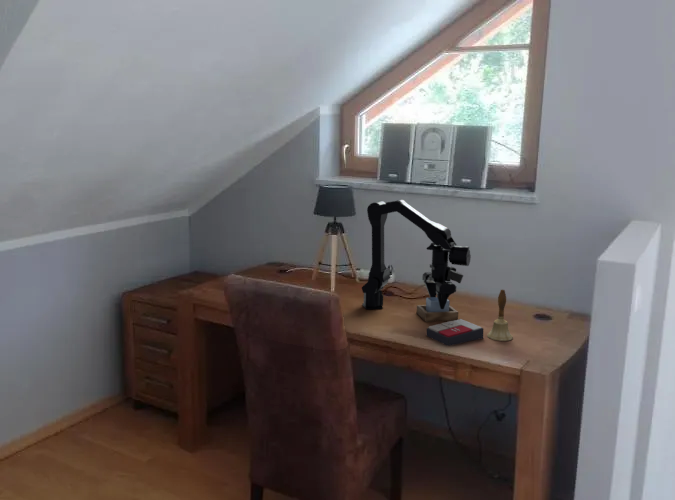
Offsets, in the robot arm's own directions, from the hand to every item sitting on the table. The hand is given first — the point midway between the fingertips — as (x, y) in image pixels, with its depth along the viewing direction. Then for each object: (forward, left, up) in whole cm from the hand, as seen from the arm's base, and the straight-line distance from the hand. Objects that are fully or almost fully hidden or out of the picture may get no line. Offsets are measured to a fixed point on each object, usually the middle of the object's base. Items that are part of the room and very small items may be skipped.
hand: (437, 305), depth 237 cm
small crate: (0, 0, -4) cm, 4 cm away
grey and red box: (-2, -22, -5) cm, 22 cm away
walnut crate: (0, 0, -4) cm, 4 cm away
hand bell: (+13, -24, -4) cm, 28 cm away
